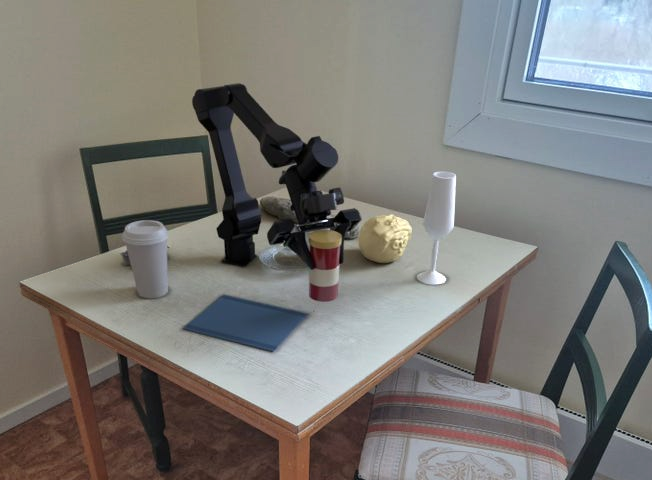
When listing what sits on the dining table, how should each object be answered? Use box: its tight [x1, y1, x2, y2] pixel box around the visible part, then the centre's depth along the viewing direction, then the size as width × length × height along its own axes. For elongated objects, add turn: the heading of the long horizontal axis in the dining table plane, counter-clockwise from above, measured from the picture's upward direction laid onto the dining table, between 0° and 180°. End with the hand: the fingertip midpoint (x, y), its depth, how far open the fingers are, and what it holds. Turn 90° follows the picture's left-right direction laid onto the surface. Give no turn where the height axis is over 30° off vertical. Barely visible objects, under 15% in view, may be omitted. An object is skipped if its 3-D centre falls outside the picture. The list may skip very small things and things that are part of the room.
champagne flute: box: [416, 171, 457, 286], centre depth 142 cm, size 7×7×24 cm
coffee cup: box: [121, 219, 170, 299], centre depth 137 cm, size 10×10×15 cm
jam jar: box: [308, 230, 342, 303], centre depth 128 cm, size 6×6×13 cm
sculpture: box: [357, 213, 413, 264], centre depth 155 cm, size 12×12×11 cm
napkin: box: [182, 294, 308, 353], centre depth 130 cm, size 20×16×1 cm
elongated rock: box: [259, 195, 361, 239], centre depth 176 cm, size 35×5×10 cm
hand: (327, 266), depth 126 cm, fingers closed on jam jar, 6 cm apart
